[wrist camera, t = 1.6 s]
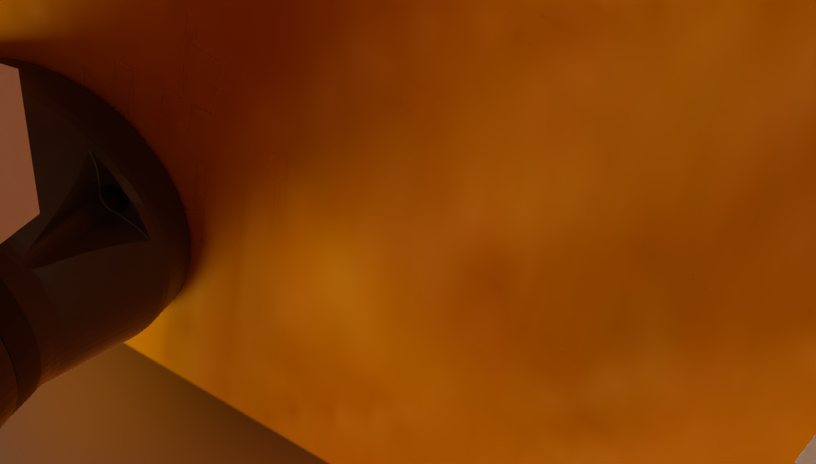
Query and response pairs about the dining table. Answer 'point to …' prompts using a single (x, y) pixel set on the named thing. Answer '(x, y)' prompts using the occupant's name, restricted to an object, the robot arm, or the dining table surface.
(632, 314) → the dining table surface
